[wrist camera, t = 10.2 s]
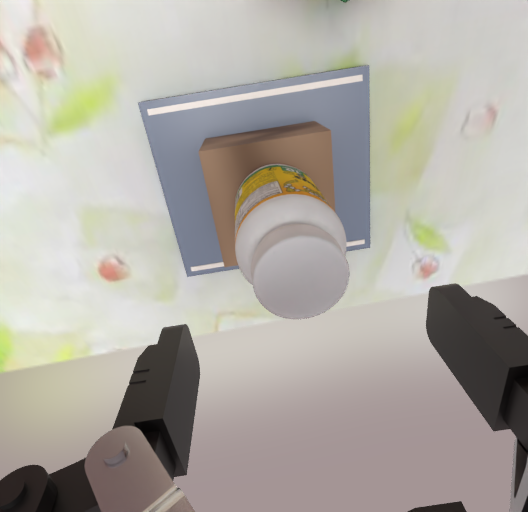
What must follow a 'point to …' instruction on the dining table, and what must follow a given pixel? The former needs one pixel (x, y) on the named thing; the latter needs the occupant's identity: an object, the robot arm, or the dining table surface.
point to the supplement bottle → (289, 242)
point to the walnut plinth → (255, 156)
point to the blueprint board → (250, 119)
